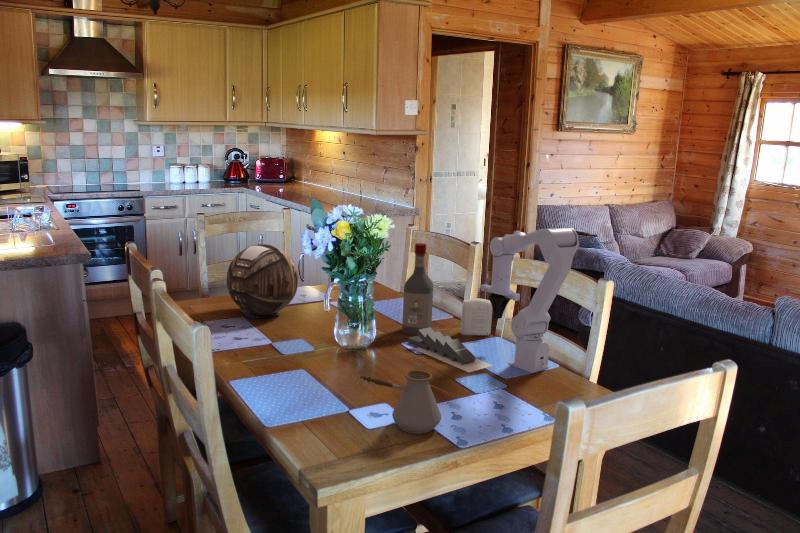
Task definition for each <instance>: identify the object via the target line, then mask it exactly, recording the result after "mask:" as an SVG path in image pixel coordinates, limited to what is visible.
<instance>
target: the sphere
mask: <svg viewBox="0 0 800 533" xmlns="http://www.w3.org/2000/svg"><path fill="white" fill-rule="evenodd" d="M298 271H299V270H298V268H297V266H296V263H295V261H294V260H293V258H292V257H291V256H290V255H289V253H287V252H286V251H285V250H283V249H281V248H280V247H277V246H274V245H271V244H264V243H263V244H262V243H261V244H255V245H251V246H248V247H246V248H244V249H242V250H241V251H240V252H238V253H237V254H236V256H235V257H233V259H232V261H231V262H230V264H229V266H228V269H227V272H226V287H227V292H228V294H229V296H230V298H231V300H232V301H233V302H234V304H236V305H237V306H238V307H239V308H240V309H241V310H243V311H245V312H246V313H249V314H252V315H255V316H268V315H273V314H275V313H277V312H280V311H282V310H283V309H285V308H286V307H287V306H288V305H289V304H290V303H291V302H292V301H293V299H294V298H295V296H296V294H297V291H298V288H299V283H300V282H299V278H300V277H299V272H298Z"/></svg>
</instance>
